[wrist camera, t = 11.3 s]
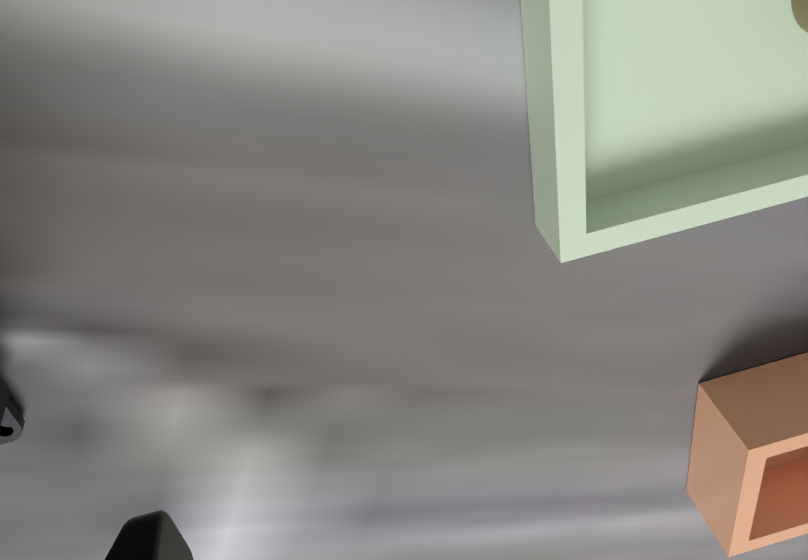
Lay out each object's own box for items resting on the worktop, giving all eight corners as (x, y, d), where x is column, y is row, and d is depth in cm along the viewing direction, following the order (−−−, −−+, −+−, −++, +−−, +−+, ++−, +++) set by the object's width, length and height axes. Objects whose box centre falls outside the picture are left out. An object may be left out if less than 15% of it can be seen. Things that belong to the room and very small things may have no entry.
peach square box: (686, 490, 34) (728, 557, 31) (698, 383, 30) (748, 450, 27) (830, 447, 35) (884, 510, 32) (863, 336, 30) (929, 397, 28)
